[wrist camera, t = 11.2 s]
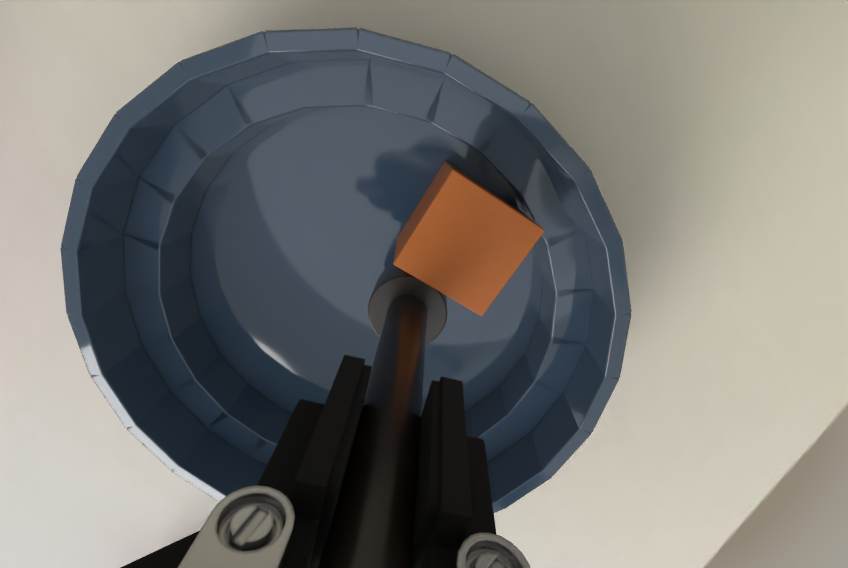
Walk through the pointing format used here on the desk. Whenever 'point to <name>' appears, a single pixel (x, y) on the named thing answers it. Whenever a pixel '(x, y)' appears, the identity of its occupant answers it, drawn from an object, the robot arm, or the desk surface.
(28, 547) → the desk surface
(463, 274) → the block
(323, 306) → the bowl
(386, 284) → the dark grey bolt
